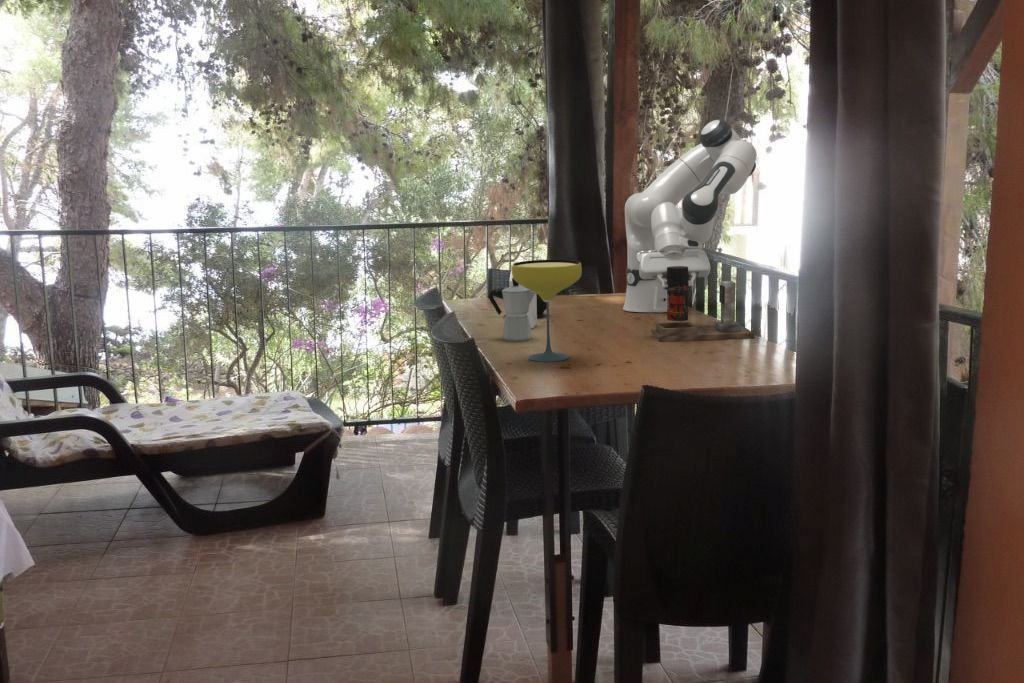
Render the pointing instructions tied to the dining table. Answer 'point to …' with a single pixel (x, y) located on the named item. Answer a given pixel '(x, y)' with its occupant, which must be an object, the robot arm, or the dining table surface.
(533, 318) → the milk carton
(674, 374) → the dining table surface
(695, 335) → the wooden stand
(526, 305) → the coffee maker
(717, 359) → the dining table surface
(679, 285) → the deodorant
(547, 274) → the cocktail glass
